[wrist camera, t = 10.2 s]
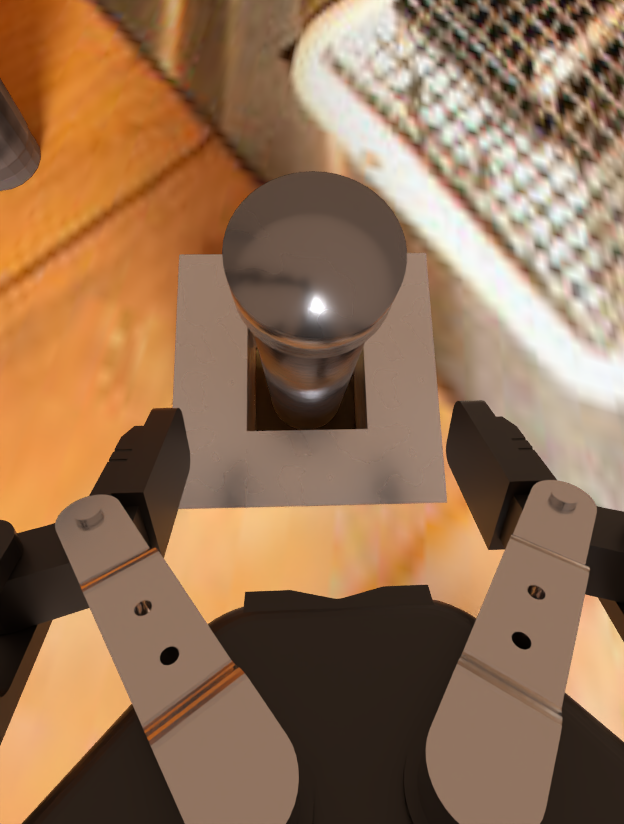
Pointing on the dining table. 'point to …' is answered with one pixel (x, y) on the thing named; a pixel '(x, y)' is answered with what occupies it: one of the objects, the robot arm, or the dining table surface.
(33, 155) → the beverage cup
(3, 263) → the dining table surface
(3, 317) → the dining table surface
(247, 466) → the block
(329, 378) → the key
